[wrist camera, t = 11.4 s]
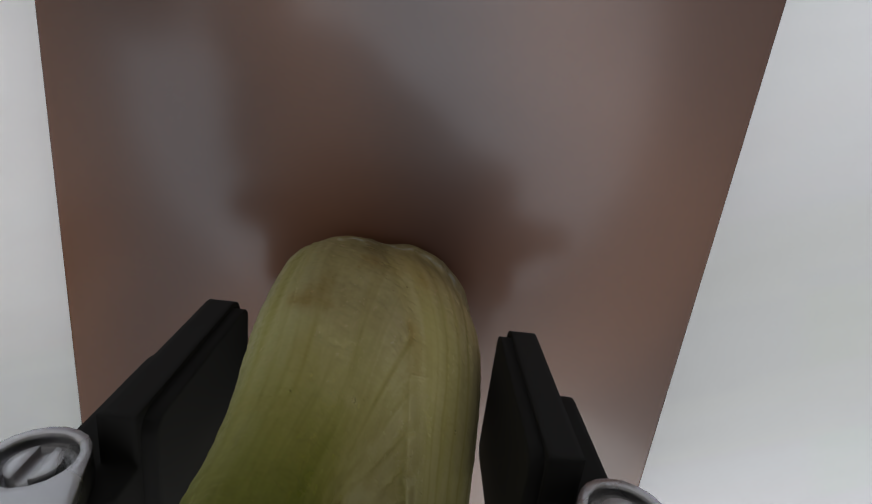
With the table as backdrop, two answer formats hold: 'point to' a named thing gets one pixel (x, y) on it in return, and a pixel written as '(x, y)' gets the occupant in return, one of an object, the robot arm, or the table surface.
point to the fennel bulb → (352, 385)
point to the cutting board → (406, 169)
